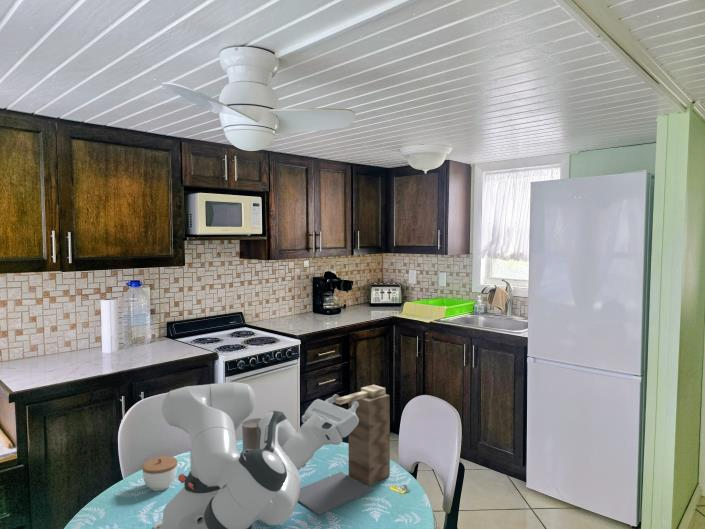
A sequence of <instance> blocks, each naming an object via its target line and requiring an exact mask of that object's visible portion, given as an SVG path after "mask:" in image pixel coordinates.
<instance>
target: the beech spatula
mask: <svg viewBox="0 0 705 529" xmlns="http://www.w3.org/2000/svg"><path fill="white" fill-rule="evenodd" d="M360 391H361V392H360ZM360 391H357V392H358V393H356V392H354V394H353V393H350V394H351V395H349V394H348V395H344V396H339V397H340V398H336V399H335V402H334V403H335V404H338V405H343V404H348V402H351V401H355V400H358V399H362V398H365V397H369V396H370V397H377V396H380V395H384V394H386V387H383V386H379V385H376V384H372V385H371V384H370V385H366V386H363V387H360Z"/></svg>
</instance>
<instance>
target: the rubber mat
mask: <svg viewBox="0 0 705 529" xmlns="http://www.w3.org/2000/svg"><path fill="white" fill-rule="evenodd" d="M372 491H374V488H373V487H371V486H370V485H369V486H368V485H366V484H365V483H363V482H361V481H359V480H357V479H355V478H353V477H351V476H349V474H346V473H344V472H343V471H339V472H337V473H334V474H332V475H330V476H327V477H325V478H323V479H319V480H317V481H314V482H313V483H310V484H307V485H305V486H301V489H300V495H299V499H298V502H297V503H300V504H301V505H303V506H305V507H306V508H307V509H309V510H310V511H311V512H313V513H315V514H317V516H321V515H323V514H326V513H328V512H330V511H331V510H334V509H337V508H339V507H340V506H343V505H344V504H346V503H349V502H351V501H354V500H355V499H357V498H360V497H361V496H363V495H366V494H367V493H370V492H372Z"/></svg>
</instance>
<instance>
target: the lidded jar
mask: <svg viewBox="0 0 705 529" xmlns="http://www.w3.org/2000/svg"><path fill="white" fill-rule="evenodd" d="M141 469H142V478H143V482H144V484H145V485H146V486H147V487H148V488H149V489H150V490H151V491H153V492H160V491H164V490H167V489H168V488H170V486H171V485H172V484H173V482H174V481H175V479H176V476H177V472H178V459H177V458H176V457H173V456H169V455H168V456H166V455H165V456H158V457H154V458H150V459H148V460H147V461H145V462H143V464H142V466H141Z"/></svg>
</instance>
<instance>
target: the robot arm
mask: <svg viewBox="0 0 705 529" xmlns="http://www.w3.org/2000/svg"><path fill="white" fill-rule="evenodd" d="M340 397H341V396H340V395H339V394H335V393H334V395H332V396H331V397H328V398H326V399H325V400H322V399H320V398H317V399H315V400H313V401H312V402H311V404H310V405H309V406H308V407H307V409H306V410H305V411H304V414H303V415H302V416H301V422H302V423H303V424H302V425H301V426H300V428H299V430H298V431H297V430H296V429H295V427H293V425H292V424H291V422H290V421H289V420H288V418H287V416H286V415H285V414H284V412H283V411H279V410H270V411H269V412H267V413H265V415H263V416H262V417H261V420H260V421H259V423H258V425H257V432H256V433H257V435H258V440H257V449H254V450H252V449H245V450H244V451H243V450H242V451H241V452H239V449H238V441H237V435H236V431H237V429H238V428H239V427H240V425H242V423H243V422H245V421H246V420H247V418H249V417H250V416H251V415H252V413H253V411H254V410H255V406H256V394H255V391H254V389H253V388H252V386H251V385H250V384H248V383H245V382H238V381H237V382H235V381H229V382H219V383H209V384H208V383H207V384H202V385H201V384H199V385H197V384H196V385H189V386H187V385H186V386H184V387H180V388H179V387H178V388H176V389H172V390H169V392H168V393H166V395H165V397H164V398H163V400H162V404H161V414H162V417H163V420H164V421H165V422H166V423H167V424H168V425H169V426H171V427H176V428H177V429H180V430H182V431H184V432H185V433H186V434H188V436H189V440H190V448H189V450H190V454H189V455H190V471H189V473H188V475H185V474H184V473H180V474H179V475H178V476H177V480H178V481H179V482H180V483H182V484H184V486H183V488H181V489H180V490H179V492H178V493H177V494H175V495H174V496H173V497H172V498H171V500H169V502H167V503H166V505H165V506H164V509H163V514H162V519H160V520H158V521H157V522H155V524H154V527H153V529H252V527H253V524H254V523H255V522H257V521H258V520H260V521H262V522H263V523H265V524H267V525H269V526H279V525H282V524H284V523H285V522H286V521H288V520H289V519H290V518H291V516H292V514H293V513H294V511H295V509H296V507H297V505H298V503H299V502H298V499H299V495H300V489H301V488H302V480H301V475H300V471H299V470H301V469H302V468H304V467H303V466H304V465H305V464H307V463H308V462H309V461H310V460H312V458H313V456H314V454H315V453H316V452H317V451H319V450H320V449H321V448H322V447H323V446H324V445H326V446H328V445H333V446H334V445H335V446H338V445H341V444H342V442H343V438H346V437H347V436H348V437H349V434H350V433H351V432H352V431H353V430H354V428H355V427H356V426H357V425H358V423H359V419H358V417H357V415H356V413H355V412H356V408H357V407H358V406H359V403H358V402H357V401H353V402H352V403H351V405H352V407H351V408H349V409H346V408H344V407H340V406H338V405H336V404H334V403H335V399H336V398H340ZM305 466H306V465H305Z"/></svg>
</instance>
